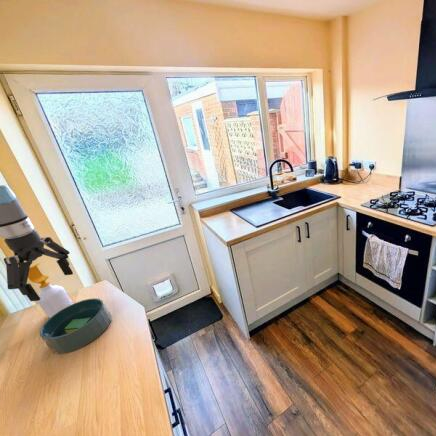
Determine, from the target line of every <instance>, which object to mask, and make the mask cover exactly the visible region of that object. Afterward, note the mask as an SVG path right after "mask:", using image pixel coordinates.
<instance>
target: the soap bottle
mask: <svg viewBox="0 0 436 436" xmlns="http://www.w3.org/2000/svg"><path fill="white" fill-rule="evenodd" d="M40 264H41V263H36V264H33V265H31V266H30V269H29V274H28V280H29V281H30V282H31V283H35V284H38V285H39V286H38V287H39V289H40V290H41V291H40V292H39V293H37V294H38V296H39V297H40V300H39V301H36V302H37V303H38V305H39V306H40V308H41V309H42V311H43V312H44V314H45V315H46V316H47V317H48V319H49V318H51V317H52V316H53V315H54V314H56V313H57V312H59V311H60V310H62V309H64V308H66V307H68V306H70V305H72V304H74V302H73V300H72V298H71V297H70V296H69V294H68V292H67V291H66V289H65V288H64V287H63V286H62V285H52V284H51V283H50V281H47V280H48V279H49V278H50V276H49V275H44V274H43V273H42V272H41V270H40V269H39V267H38V265H40Z"/></svg>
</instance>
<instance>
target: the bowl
mask: <svg viewBox="0 0 436 436" xmlns="http://www.w3.org/2000/svg"><path fill="white" fill-rule="evenodd" d="M85 318H91V320H90V321H89V322H88V323H86V324H85V325H83V326H82V327H80V328H78V329H76V330H74V331H72V332H70V333H68V334H67V333H66V331H65V330H64V328H65V327H66V326H67V325H68V324H69V323H70V322H71V321H72V320H73V319H85ZM111 321H112V315H111V314H110V312H109V310H108V308H107V305H105V303H104V301H103V300H102V299H100V298H95V297H94V298H87V299H82V300H80V301H77V302H73V304H72V305H70V306H68V307H66V308H64V309H62V310H60V311H59V312H57V313H56V314H54V315H53V316H52V317H51V318H49V317H48V319H47V320H46V321H45V322H44V323H43V324H42V325H41V327H40V329H39V337H40V338H41V340H42V341H43V342H44V344H45V345H46V346H47V348H48V349H49V350H50V351H51V352H52V353H53V354H67V353H71V352H74V351H77V350H78V349H80V348H83V347H85V346H86V345H88V344H90V343H92V342H93V341H94V340H96V339H97V338H98V337H100V336H101V334H103V333H104V332H105V331H106V329H108V327H109V325H110V324H111Z"/></svg>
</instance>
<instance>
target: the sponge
mask: <svg viewBox="0 0 436 436" xmlns="http://www.w3.org/2000/svg"><path fill="white" fill-rule="evenodd" d="M90 320H91V318H85V319H73V320H72V321H71V322H70V323H69V324H68V325H67V326H66V327H65V328H64V330H65V331H66V333H67V334H68V333H70V332H72V331H74V330H76V329H78V328H80V327H82V326H83V325H85V324H86V323H88V322H89V321H90Z"/></svg>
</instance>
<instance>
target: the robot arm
mask: <svg viewBox="0 0 436 436" xmlns="http://www.w3.org/2000/svg"><path fill="white" fill-rule="evenodd" d="M0 237H1V239H4V243H5V244H6V246H7V247H8V249H9V250H10V251H12V252H13V255H11V256H9V257H4V258H3V262H4V265H5V267H6V268H5V269H6V279H7V280H6V284H7V289H8V290H19V292H20V293H21V294H22V295H23V296H26V297H27V298H28V300H29V301H30V302H37V301H39V300H40V297H39V296H38V294H39V293H37V291H36V290H35V288H34V287H33V286H32V284H31V283H28V280H29V278H28V274H29V269H30V267H31V266H32V264H33V262H35V261H36V260H37V259H38V258H40V257H42V256H47V257H49V258H53V259H56V263H57V265H58V266H59V268H60V270H61V272H62V273H63V275H64V276H71V275H74V271H73V270H72V269H71V267H70V262H69V260H68V259H69V255H70V253H71V252H70V251H69V250H67V249H66V248H65V247H63V246H62V245H60V244H58V243H57V242H55V241H54V240H53V239H52V237H50V236H47V237H41V236H40V234H39V232H38V231H37V230H36V229H35V226H34V225H33V223H32V221H31V219H30V218H29V216H28V215H27V213H26V211H25V210H24V208H23V207H22V204H21V203H20V201H19V199H18V197H17V196H16V194H15V193H14V192H13V190H12V189H11V188H10V187H9V186H8V185H5V184H4V185H3V184H0ZM45 246H46V247H47V248H45ZM48 248H49V249H48ZM50 249H51V250H50Z"/></svg>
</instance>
